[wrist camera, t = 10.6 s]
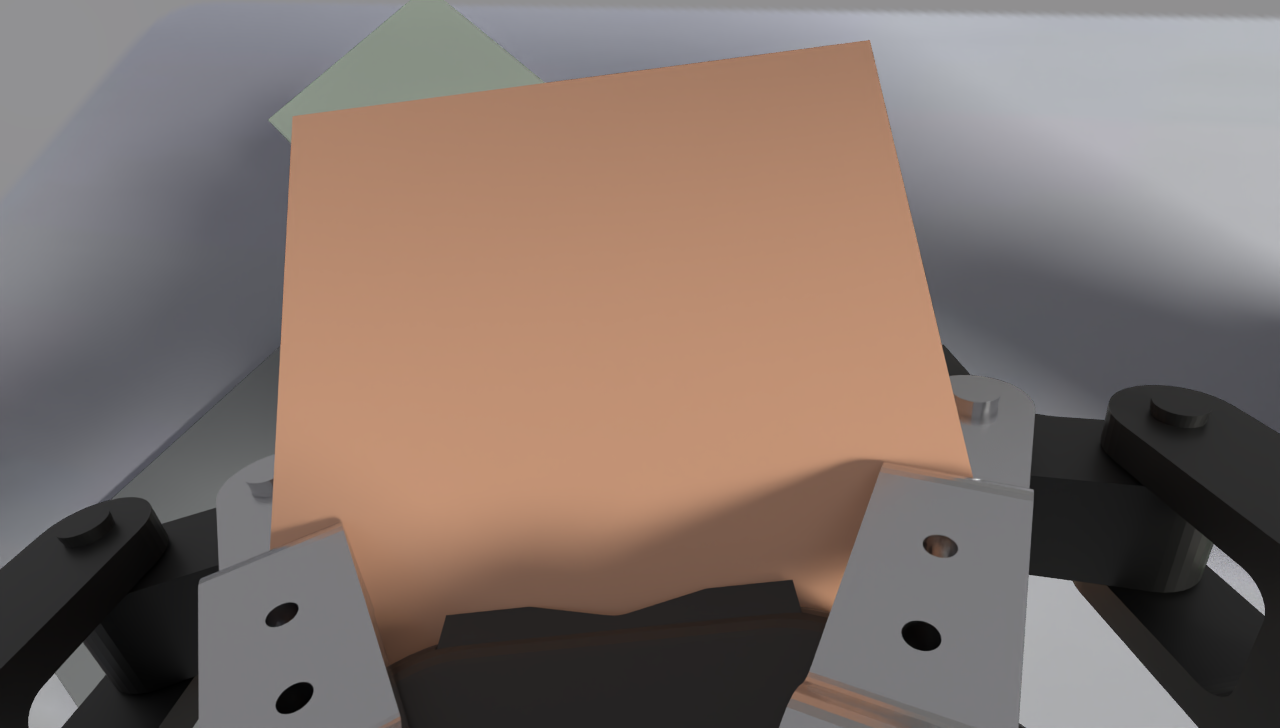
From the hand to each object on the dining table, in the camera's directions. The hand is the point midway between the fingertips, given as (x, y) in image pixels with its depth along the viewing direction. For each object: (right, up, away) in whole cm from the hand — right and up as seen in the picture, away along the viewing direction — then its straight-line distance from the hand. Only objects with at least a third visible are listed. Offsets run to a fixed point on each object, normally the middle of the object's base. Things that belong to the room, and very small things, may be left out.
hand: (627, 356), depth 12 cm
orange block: (+1, -3, +4) cm, 5 cm away
